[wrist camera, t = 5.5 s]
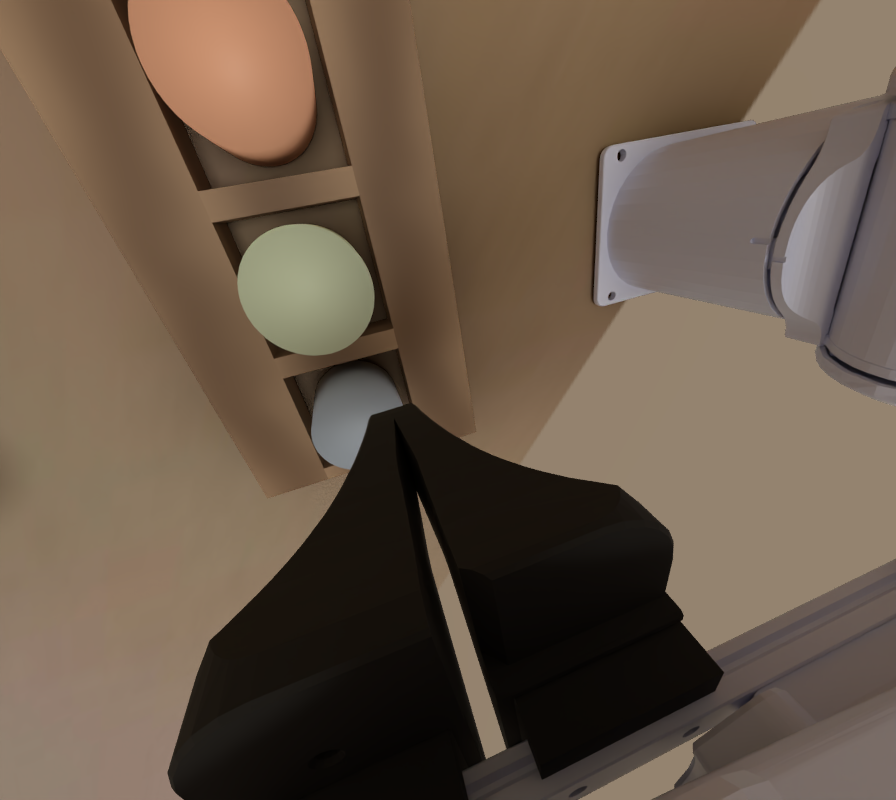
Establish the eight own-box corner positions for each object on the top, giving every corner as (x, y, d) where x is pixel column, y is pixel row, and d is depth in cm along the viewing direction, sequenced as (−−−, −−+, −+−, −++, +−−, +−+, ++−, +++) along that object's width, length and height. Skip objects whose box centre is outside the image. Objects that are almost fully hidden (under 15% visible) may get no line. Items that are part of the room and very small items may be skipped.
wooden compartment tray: (386, -51, 12) (395, -94, 11) (465, 415, 22) (476, 431, 21) (-7, -26, 10) (-74, -75, 9) (272, 474, 20) (267, 498, 18)
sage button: (349, 214, 14) (353, 212, 11) (377, 317, 16) (387, 338, 13) (237, 235, 14) (210, 239, 11) (282, 340, 16) (271, 368, 13)
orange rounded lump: (290, 3, 12) (276, -70, 9) (332, 157, 14) (332, 139, 11) (151, 15, 11) (84, -61, 8) (218, 175, 13) (185, 161, 10)
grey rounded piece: (386, 351, 18) (396, 376, 15) (404, 420, 21) (417, 453, 18) (301, 373, 18) (295, 404, 15) (330, 442, 20) (330, 481, 17)
